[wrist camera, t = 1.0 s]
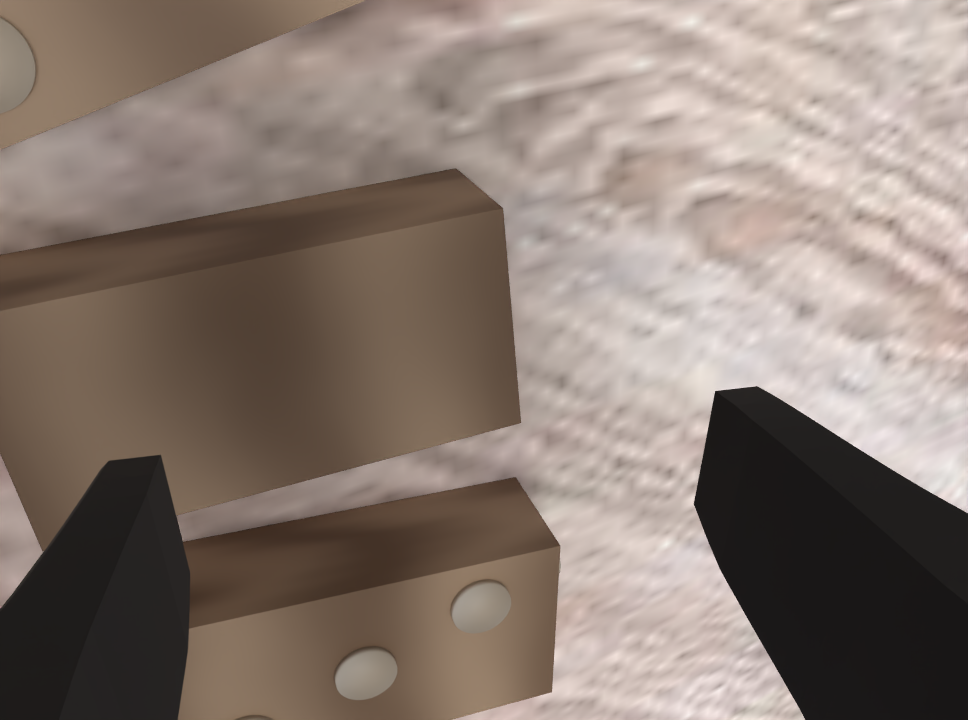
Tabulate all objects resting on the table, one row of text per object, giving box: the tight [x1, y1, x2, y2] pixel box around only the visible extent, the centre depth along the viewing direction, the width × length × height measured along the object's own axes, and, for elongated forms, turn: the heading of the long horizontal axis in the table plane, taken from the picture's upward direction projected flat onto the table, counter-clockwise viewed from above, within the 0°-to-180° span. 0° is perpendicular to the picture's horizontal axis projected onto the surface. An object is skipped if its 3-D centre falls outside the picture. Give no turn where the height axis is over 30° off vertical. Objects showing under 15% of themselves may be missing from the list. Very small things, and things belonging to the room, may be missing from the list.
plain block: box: [0, 169, 521, 551], centre depth 22 cm, size 12×6×4 cm, turn 96°
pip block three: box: [178, 477, 561, 720], centre depth 27 cm, size 12×6×4 cm, turn 90°
